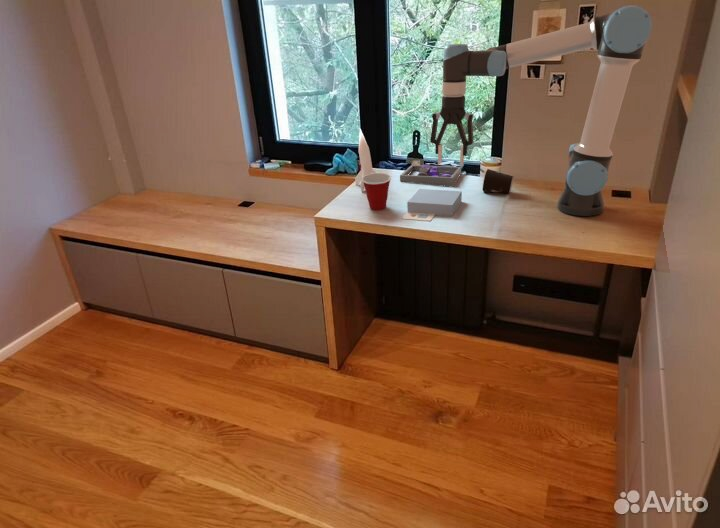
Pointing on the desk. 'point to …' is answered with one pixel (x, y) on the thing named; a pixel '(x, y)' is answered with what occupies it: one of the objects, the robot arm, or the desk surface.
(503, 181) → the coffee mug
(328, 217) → the desk surface
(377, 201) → the plastic cup
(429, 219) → the page
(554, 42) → the robot arm
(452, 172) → the tray
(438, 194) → the base brick
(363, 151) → the rocket
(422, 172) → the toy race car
